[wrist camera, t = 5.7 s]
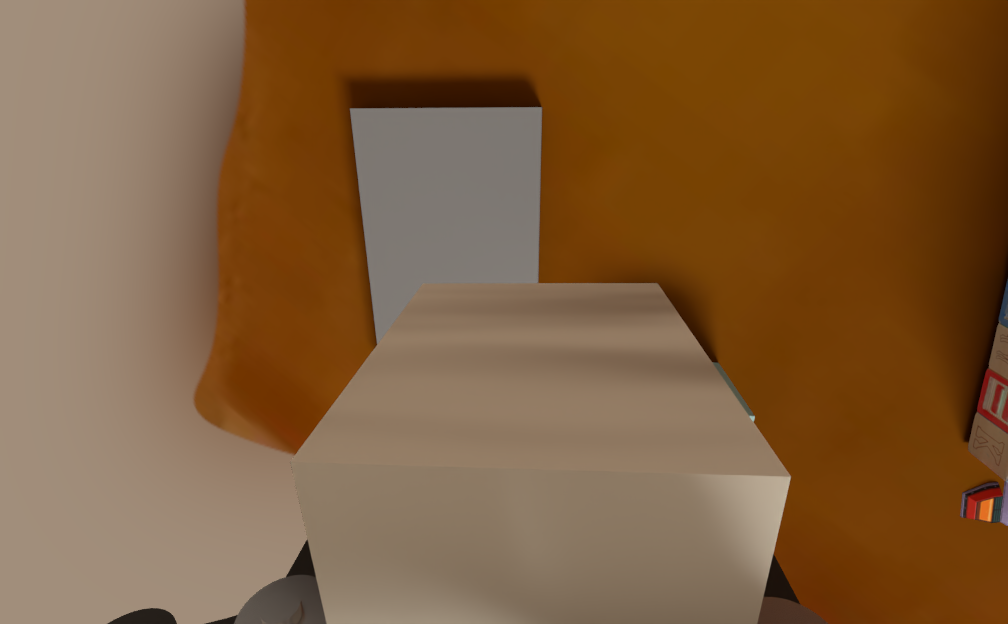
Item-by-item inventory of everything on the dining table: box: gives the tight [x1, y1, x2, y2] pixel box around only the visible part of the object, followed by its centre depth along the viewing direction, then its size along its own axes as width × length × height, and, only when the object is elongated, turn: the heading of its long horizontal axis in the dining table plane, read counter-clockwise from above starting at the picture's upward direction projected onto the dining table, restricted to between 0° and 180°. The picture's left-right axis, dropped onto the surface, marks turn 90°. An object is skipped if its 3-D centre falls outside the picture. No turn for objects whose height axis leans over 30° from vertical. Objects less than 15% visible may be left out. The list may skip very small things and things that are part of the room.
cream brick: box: [290, 283, 791, 624], centre depth 9 cm, size 8×5×6 cm, turn 2°
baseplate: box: [350, 107, 542, 345], centre depth 29 cm, size 16×10×2 cm, turn 0°
